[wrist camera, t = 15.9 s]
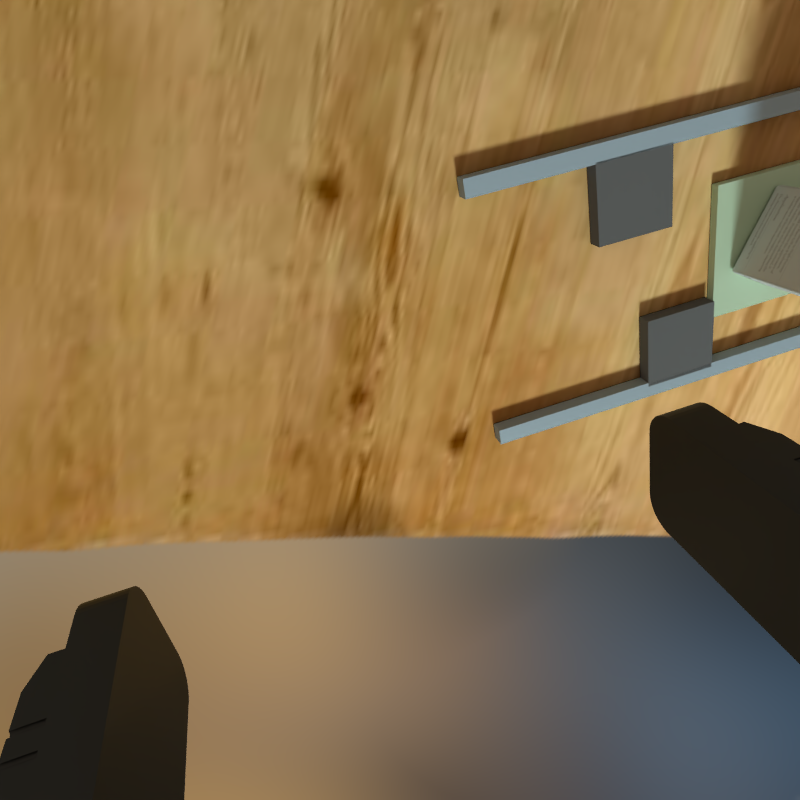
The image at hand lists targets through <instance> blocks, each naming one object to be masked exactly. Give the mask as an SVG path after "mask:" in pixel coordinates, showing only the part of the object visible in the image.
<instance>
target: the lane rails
mask: <svg viewBox="0 0 800 800" xmlns="http://www.w3.org/2000/svg"><path fill="white" fill-rule="evenodd" d="M798 110H800V87H798V88H794V89H790V90H787V91H783V92H779V93H775V94H771V95H767V96H764V97H760V98H756V99H752V100H748V101H745V102H741V103H737V104H733V105H729V106H725V107H722V108H718V109H714V110H710V111H706V112H703V113H699V114H695V115H691V116H687V117H684V118H680V119H676V120H672V121H668V122H664V123H661V124H657V125H653V126H649V127H645V128H642V129H638V130H634V131H630V132H626V133H622V134H619V135H615V136H611V137H607V138H603V139H600V140H596V141H592V142H588V143H584V144H580V145H577V146H573V147H569V148H565V149H561V150H558V151H554V152H550V153H546V154H542V155H538V156H535V157H531V158H527V159H523V160H519V161H516V162H512V163H508V164H504V165H500V166H497V167H493V168H489V169H485V170H481V171H477V172H474V173H470V174H466V175H462V176H458V177H457V182H458V189H459V195H460V197H462V198H464V199H469V198H473V197H476V196H480V195H484V194H488V193H491V192H495V191H499V190H502V189H506V188H510V187H514V186H517V185H521V184H525V183H529V182H532V181H536V180H540V179H544V178H547V177H551V176H555V175H559V174H562V173H566V172H570V171H573V170H577V169H581V168H585V167H588V166H592V165H596V164H597V163H598V162H600V161H602V162H604V160H608V159H612V158H615V157H617V158H616V159H618V158H619V156H621V157H623V155H625V156H626V155H627V154H628V155H630V153H632V154H633V153H634V154H637V153H638V151H639V152H640V151H642V152H644V151H645V149H646V150H647V149H648V150H650V149H649V148H653V147H656V146H657V148H658V147H659V146H660V145H661V146H662V147H663V146H665V145H664V144H667V145H669V144H668V143H670V144H671V142H673V143H672V144H674V143H678V142H682V141H686V140H689V139H693V138H697V137H701V136H704V135H708V134H712V133H716V132H719V131H723V130H727V129H730V128H734V127H738V126H742V125H745V124H749V123H753V122H757V121H760V120H764V119H768V118H772V117H775V116H779V115H783V114H787V113H790V112H794V111H798ZM653 149H655V148H653ZM643 150H644V151H643ZM651 150H652V149H651ZM635 152H636V153H635ZM621 157H620V158H621ZM614 160H615V159H614ZM602 162H600V163H602ZM606 162H607V161H606ZM797 348H800V327H797V328H793V329H790V330H787V331H784V332H781V333H778V334H775V335H771V336H768V337H765V338H762V339H759V340H756V341H753V342H750V343H746V344H743V345H740V346H737V347H734V348H731V349H728V350H724V351H721V352H718V353H715V354H712V363H711V364H710V365H709V366H711V367H708V366H707V368H705V366H704V368H705V369H704V368H703V369H702V370H701V368H699V369H700V370H699V371H696V372H693V371H694V370H693V371H692V369H691V371H692V372H693V373H689V374H685V375H684V376H683V375H682V373H680V375H682V376H680V377H677V378H674V377H673V379H671V380H668V381H665V382H662V383H660V381H659V384H656V385H652V386H649V383H648V382H646V381H645V380H643V379H642V378H637V379H634V380H630V381H627V382H624V383H621V384H618V385H615V386H612V387H608V388H605V389H602V390H599V391H596V392H593V393H590V394H586V395H583V396H580V397H577V398H574V399H571V400H568V401H565V402H561V403H558V404H555V405H552V406H549V407H546V408H543V409H539V410H536V411H533V412H530V413H527V414H524V415H521V416H518V417H514V418H511V419H508V420H505V421H502V422H499V423H496V424H494V430H495V437H496V438H497V440H498V441H499V442H500V444H504V443H507V442H510V441H513V440H516V439H519V438H522V437H525V436H528V435H531V434H534V433H537V432H541V431H544V430H547V429H550V428H553V427H556V426H559V425H562V424H565V423H568V422H571V421H575V420H578V419H581V418H584V417H587V416H590V415H593V414H596V413H599V412H602V411H605V410H608V409H612V408H615V407H618V406H621V405H624V404H627V403H630V402H633V401H636V400H639V399H642V398H646V397H649V396H652V395H655V394H658V393H661V392H664V391H667V390H670V389H673V388H676V387H679V386H683V385H686V384H689V383H692V382H695V381H698V380H701V379H704V378H707V377H710V376H713V375H717V374H720V373H723V372H726V371H729V370H732V369H735V368H738V367H741V366H744V365H747V364H750V363H754V362H757V361H760V360H763V359H766V358H769V357H772V356H775V355H778V354H781V353H784V352H788V351H791V350H794V349H797ZM702 367H703V366H702ZM695 369H697V368H695ZM697 370H698V369H697ZM686 372H688V371H686ZM684 373H685V372H684ZM672 376H673V375H672ZM669 377H670V376H669ZM664 379H665V378H664ZM662 381H663V379H662ZM656 382H657V381H656ZM650 383H651V382H650Z"/></svg>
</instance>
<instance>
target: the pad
mask: <svg viewBox="0 0 800 800" xmlns="http://www.w3.org/2000/svg"><path fill="white" fill-rule="evenodd" d="M778 185H785V186H791V187H797V188H800V160H797V161H793V162H789V163H786V164H782V165H779V166H775V167H772V168H768V169H764V170H761V171H757V172H754V173H750V174H746V175H743V176H739V177H736V178H732V179H729V180H725V181H721V182H718V183H714V184H712V195H711V218H710V242H709V266H708V289H707V298H708V299H710V300H712V301H714V317H716V316H719V315H723V314H726V313H729V312H732V311H736V310H739V309H742V308H745V307H748V306H752V305H755V304H758V303H761V302H765V301H768V300H771V299H774V298H777V297H781V296H784V295H787V294H790V293H789V292H786V291H783V290H780V289H777V288H773V287H770V286H767V285H764V284H761V283H759V282H756V281H754V280H751V279H749V278H746V277H744V276H741V275H738V274H736V273H734V272H733V271H732V270H733V268H734V266H735V264H736V262H737V260H738V258H739V257H740V255H741V253H742V251H743V249H744V247H745V245H746V243H747V241H748V240H749V238H750V236H751V234H752V232H753V230H754V228H755V226H756V224H757V223H758V221H759V219H760V217H761V215H762V213H763V211H764V209H765V207H766V205H767V204H768V202H769V200H770V198H771V196H772V194H773V192H774V190H775V188H776V187H777V186H778Z"/></svg>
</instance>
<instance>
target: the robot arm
mask: <svg viewBox="0 0 800 800" xmlns="http://www.w3.org/2000/svg"><path fill="white" fill-rule="evenodd" d="M650 498H651V503H652V506H653V509H654V512H655V514H656V516H657V518H658V520H659V522H660V523H661V525H662V526H663V528H664V529H665V530H666V531H667V532H668V534H669V535H670V536H672V537H673V538H674V539H675V540H676V541H677V542H678V543H679V544H680V545H681V546H682V547H683V548H684V549H685V550H686V551H687V552H688V553H689V554H690V555H691V556H692V557H693V558H694V559H695V560H696V561H697V562H698V563H699V564H700V565H701V566H702V567H703V568H704V569H705V570H706V571H707V572H708V573H709V574H710V575H711V576H712V577H713V578H714V579H715V580H716V581H717V582H718V583H719V584H720V585H721V586H722V587H723V588H724V589H725V590H726V591H727V592H728V593H729V594H730V595H731V596H732V597H733V598H734V599H735V600H736V601H737V602H738V603H739V604H740V605H741V606H742V607H743V608H744V609H745V610H746V611H747V612H748V613H749V614H750V615H751V616H752V617H753V618H754V619H755V620H756V621H757V622H758V623H759V624H760V625H761V626H762V627H763V628H764V629H765V630H766V631H767V632H768V633H769V634H770V635H771V636H772V637H773V638H774V639H775V640H776V641H777V642H778V643H779V644H780V645H781V646H782V647H783V648H784V649H785V650H786V651H787V652H788V653H789V654H790V655H791V656H792V657H793V658H794V659H795V660H796V661H797V662H798V663H799V664H800V445H799V444H797V443H796V442H794V441H792V440H791V439H789V438H788V437H786V436H784V435H783V434H780V433H777V432H774V431H771V430H768V429H765V428H762V427H759V426H755V425H752V424H749V423H746V422H742V423H740V424H738V423H737V422H735V421H734V420H732V419H730V418H729V417H727V416H726V415H724V414H723V413H721V412H720V411H718V410H717V409H715V408H714V407H712V406H710V405H708V404H706V403H701V402H700V403H696V404H693V405H690V406H687V407H684V408H680V409H677V410H674V411H671V412H668V413H665V414H662V415H659V416H656V417H655V418H654V419H653V420H652V422H651V425H650ZM188 704H189V695H188V685H187V679H186V674H185V671H184V667H183V664H182V661H181V659H180V656H179V654H178V653H177V651H176V649H175V647H174V645H173V643H172V642H171V640H170V638H169V636H168V634H167V633H166V631H165V629H164V627H163V626H162V624H161V622H160V620H159V618H158V616H157V615H156V613H155V611H154V609H153V608H152V606H151V604H150V602H149V600H148V598H147V597H146V595H145V594H144V592H143V591H142V590H141V589H140V588H139V587H137V586H134V587H131V588H128V589H125V590H122V591H118V592H115V593H112V594H110V595H106V596H103V597H100V598H97V599H94V600H91V601H88V602H85V603H83V604H81V605H79V606H78V608H77V610H76V612H75V615H74V619H73V623H72V627H71V630H70V634H69V637H68V641H67V645H66V649H63V650H60V651H57V652H54V653H51V654H48V655H47V656H46V658H45V659H44V661H43V662H42V663H41V665H40V666H39V668H38V669H37V670H36V672H35V673H34V675H33V676H32V678H31V679H30V681H29V682H28V683H27V685H26V686H25V688H24V689H23V691H22V692H21V695H20V698H19V701H18V704H17V707H16V710H15V713H14V717H13V720H12V723H11V726H10V729H9V733H10V738H8V739H6V741H5V744H4V747H3V750H2V754H1V757H0V800H184V791H185V769H186V768H185V767H186V748H187V746H186V745H187V726H188V725H187V724H188Z"/></svg>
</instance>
